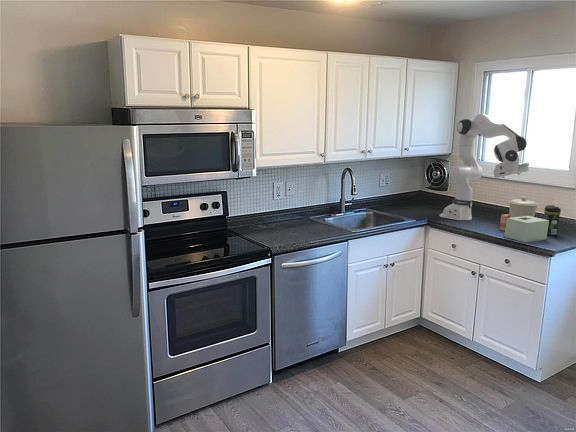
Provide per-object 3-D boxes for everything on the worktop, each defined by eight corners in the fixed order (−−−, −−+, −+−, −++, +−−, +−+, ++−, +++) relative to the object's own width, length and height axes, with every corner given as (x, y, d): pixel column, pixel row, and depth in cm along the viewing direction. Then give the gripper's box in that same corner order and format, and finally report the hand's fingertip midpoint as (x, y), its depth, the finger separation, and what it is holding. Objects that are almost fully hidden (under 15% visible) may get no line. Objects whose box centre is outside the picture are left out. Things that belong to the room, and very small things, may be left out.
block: (503, 230, 304) (505, 215, 302) (499, 229, 307) (501, 214, 304) (509, 229, 307) (511, 215, 305) (505, 228, 309) (507, 214, 307)
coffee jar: (539, 231, 303) (543, 204, 299) (551, 232, 302) (556, 204, 299) (545, 235, 294) (550, 206, 290) (558, 236, 293) (563, 207, 289)
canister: (532, 225, 323) (536, 195, 319) (537, 230, 306) (541, 199, 302) (504, 222, 328) (507, 193, 324) (507, 228, 311) (511, 197, 307)
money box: (524, 242, 274) (527, 222, 272) (504, 236, 287) (506, 218, 284) (546, 239, 283) (549, 220, 281) (525, 234, 296) (528, 215, 293)
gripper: (527, 158, 288) (527, 167, 300) (492, 165, 295) (493, 174, 307) (530, 167, 286) (529, 176, 297) (494, 174, 293) (495, 182, 305)
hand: (510, 175), depth 302 cm, fingers open, 8 cm apart
